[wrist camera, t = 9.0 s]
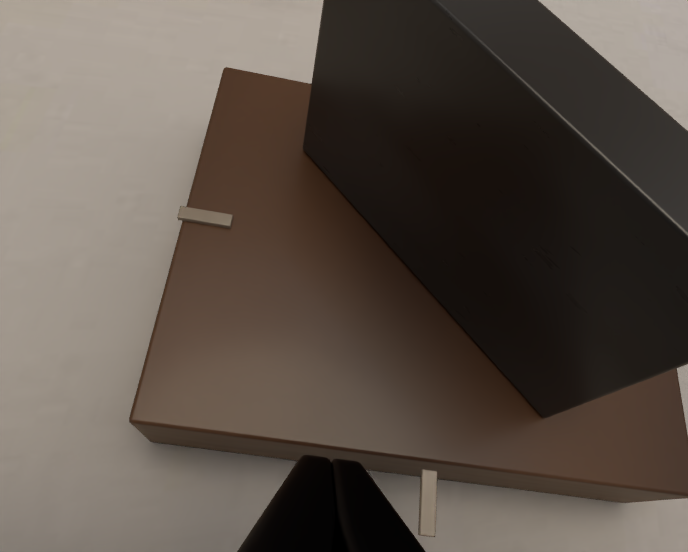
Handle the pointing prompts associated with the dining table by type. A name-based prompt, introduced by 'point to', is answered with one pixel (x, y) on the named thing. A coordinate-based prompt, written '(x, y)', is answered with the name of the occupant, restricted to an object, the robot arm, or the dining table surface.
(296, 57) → the dining table surface
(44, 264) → the dining table surface
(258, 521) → the robot arm
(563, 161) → the pointer
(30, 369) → the dining table surface
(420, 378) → the dial panel
